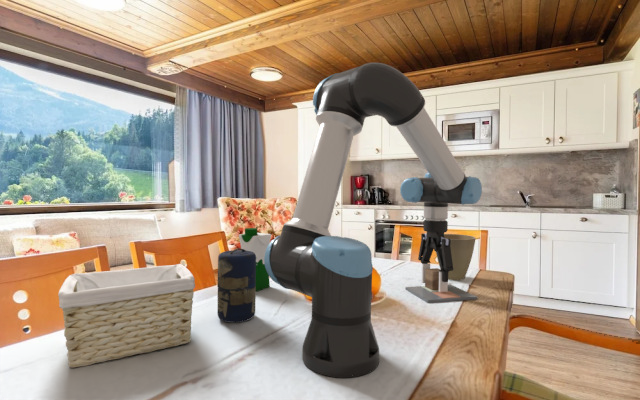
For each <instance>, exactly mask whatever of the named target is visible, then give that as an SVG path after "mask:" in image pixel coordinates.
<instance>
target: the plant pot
mask: <svg viewBox="0 0 640 400" xmlns="http://www.w3.org/2000/svg"><path fill="white" fill-rule="evenodd" d="M444 237H445V238H446V239H450V240H451V244H450V247H451V255H452V262H453V271H449V272H448V281H463V280H464V279H465V278H466V275H467V273H468V270H469V268H470V264H471V261H472V258H473V254H474V250H475V249H474V248H475V244H476V237H475V236H473V235H468V234H457V233H456V234H455V233H444ZM435 253H436V252H435ZM436 259H437V262H438V266H439V267H440V265H439V261H438V257H437V253H436ZM449 267H450V266H449Z"/></svg>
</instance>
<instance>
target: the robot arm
mask: <svg viewBox="0 0 640 400" xmlns="http://www.w3.org/2000/svg"><path fill="white" fill-rule="evenodd" d="M312 105H313V106H314V109H313V110H314V113H315V120H316V123H317V125H319V128H318V131H317V135H316V138H315V141H314V145H313V147H312V148H313V149H312V150H311V155H310V159H309V162H308V165H307V168H306V171H305V175H304V178H303V182H302V185H301V189H300V191H299V196H298V198H297V202H296V206H295V209H294V212H293V216H292V218H291V219H290V220H288V221H286V222H285V223H284V224H283V226H282V228H281V232H280V234H279V235H277V236H275V238H274V239H272V240H270V243H269V245H268V246H267V249H266V252H265V257H264V262H265V268H266V271H267V273H268V275H269V279H271V280H272V281H273V282H274V283H276V284H278V285H279V286H281V287H282V288H284V289H286V290H287V289H288V290H292V291H295V292H298V293H300V294H303V295H305V296H307V297H309V298H310V297H311V319H310V323H309V326H308V329H307V331H306V334H305V337H304V341H303V343H302V348H301V350H302V353H301V355H302V357H301V358H302V359H301V360H302V362H303V364H304V365H305V367H307V368H308V369H309V370H311V371H313V372H315V373H317V374H320V375H322V376H327V377H333V378H355V377H360V376H364V375H367V374H369V373H371V372H373V371H374V370H376V368H377V367H378V365H379V363H380V348H379V344H378V341H377V337H376V334H375V330H374V327H373V324H372V290H373V289H372V288H373V287H372V285H373V269H374V267H373V262H372V261H373V260H372V257H373V256H372V250H371V248H370V247H369V246H368V245H367V244H366V243H364V242H362V241H361V240H357V239H354V238H350V237H346V236H345V237H343V236H342V237H341V236H338V235H331V233H330V231H329V226H330V222H331V219H332V215H333V214H334V213H333V212H334V209H335V205H336V202H337V197H338V194H339V192H340V191H339V190H340V188H341V187H340V186H341V184H342V180H343V176H344V172H345V169H346V165H347V161H348V158H349V154H350V150H351V147H352V144H353V140H354V137H355V136H357V135H358V134H360V133H361V132H362V129H363V127H364V123H365V119H366V118H368V117H369V118H370V117H373V116H379V117H382V118H383V119H384V120H385V121H386V122H387V123H388V124H389V126H392V127H396V129H397V130H398V131H399V132H400V134H401V136H402V137H403V139H404V140H405V141H406V143H407V144H408V146H409V147H410V148H411V150H412V152H413V153H414V154H415V155H416V157H417V158H418V159H419V161H420V162H421V164H422V165H423V167H424V168H425V169H426V171H427V172H426V173H425V174H424V177H408V178H406V179H404V180H403V181H402V183H401V185H400V191H399V192H400V196H401V198H402V199H403V200H404V201H406V202H407V203H412V204H413V203H415V204H416V203H423V218H424V220H423V231H424V232H425V233H421V235H420V236H421V237H420V238H421V239H420V246H419V253H418V258H417V260H418V261H420V263H421V283H422V284H425V269H431V261H430V260H431V258H432V255H433V252H435V253H437V255H436V258H437V257H438V259H437V262H438V261H439V263H438V266H439V265H440V266H439V269H440V270H439V292H448V285H449V280H448V272H449V271H453V262H452V255H451V247H450V244H451V240H450V239H446V238H445V237H444V234H446V233H447V232H448V229H449V228H448V225H449V224H448V223H449V222H448V221H447V219H448V215H449V214H448V213H449V212H448V211H449V209H448V208H449V204H450V205H451V204H454V205H462V206H464V205H474V204H477V203H478V202H479V201H480V199H481V196H482V193H483V187H482V186H483V185H482V183H481V180H480V179H479V178H478V177H476V176H475V177H474V176H466V174H465V172H464V171H463V170H462V168H461V166H460V165H459V163H458V161H457V160H456V158H455V156H454V155H453V153H452V152H451V150H450V148H449V146H448V145H447V143H446V142H445V140H444V138H443V137H442V135H441V133H440V131H439V130H438V128H437V126H436V124H434V121H433V120H432V118H431V117H430V115H429V113H428V111H427V110H426V108H425V105H426V100H425V98H424V96H423V94H422V93H421V91H420V89H419V88H418V87H417V86H416V84H415V83H414V82H413V81H412V80H411V79H410V78H409V77H408V76H406V75H405V74H404V73H402V72H401V71H400V70H398V69H397V68H395V67H393V66H392V65H389V64H385V63H381V62H369V63H368V62H367V63H365V64H362V65H360V66H357V67H354V68H351V69H347V70H344V71H342V72H338V73H334V74H332V75H331V74H330V75H329V76H328V77H326V78H324V79H323V80H321V81H319V83H318V84H317V86H316V88H315V89H314V93H313V96H312ZM449 266H450V267H449Z"/></svg>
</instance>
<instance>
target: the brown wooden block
mask: <svg viewBox="0 0 640 400" xmlns="http://www.w3.org/2000/svg"><path fill="white" fill-rule="evenodd" d="M439 270H441V269H440V268H438V267H437V268H436V267H435V268H430V269H425V283H424V286H425V287H427V288H429V289H430V290H439Z"/></svg>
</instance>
